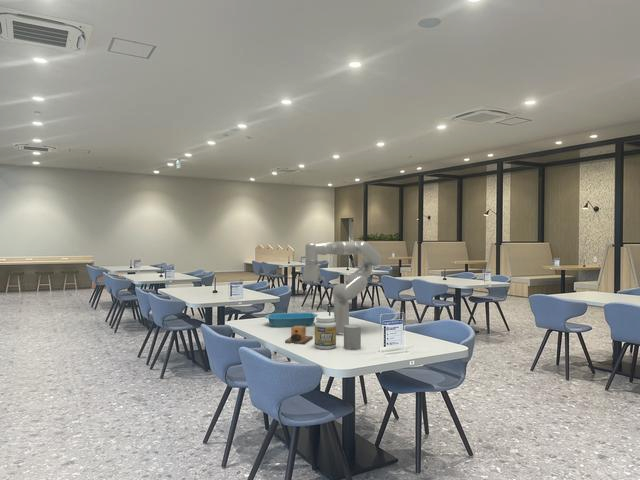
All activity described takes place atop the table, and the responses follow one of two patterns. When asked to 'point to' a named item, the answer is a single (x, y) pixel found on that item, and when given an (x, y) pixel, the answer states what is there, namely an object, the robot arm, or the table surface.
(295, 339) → the rail board
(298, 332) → the lock block
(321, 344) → the supplement tub
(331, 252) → the robot arm
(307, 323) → the casserole dish
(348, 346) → the gray cylinder
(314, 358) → the table surface
